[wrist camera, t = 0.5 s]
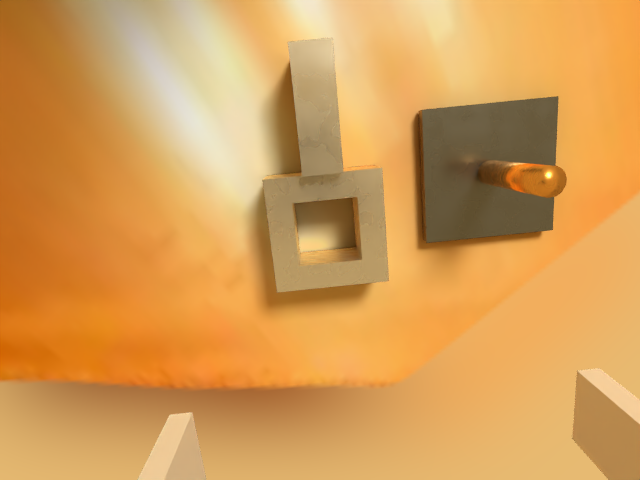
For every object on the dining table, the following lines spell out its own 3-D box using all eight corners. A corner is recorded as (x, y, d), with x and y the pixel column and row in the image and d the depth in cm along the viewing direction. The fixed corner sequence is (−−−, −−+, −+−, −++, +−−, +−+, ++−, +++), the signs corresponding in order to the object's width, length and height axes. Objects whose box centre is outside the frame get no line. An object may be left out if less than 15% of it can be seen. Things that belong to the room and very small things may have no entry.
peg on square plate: (418, 110, 33) (462, 97, 24) (550, 97, 33) (646, 80, 24) (423, 240, 35) (464, 274, 26) (545, 227, 36) (629, 257, 26)
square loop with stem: (252, 61, 32) (243, 46, 27) (366, 50, 32) (376, 33, 27) (280, 276, 36) (276, 297, 31) (379, 266, 36) (391, 285, 31)
